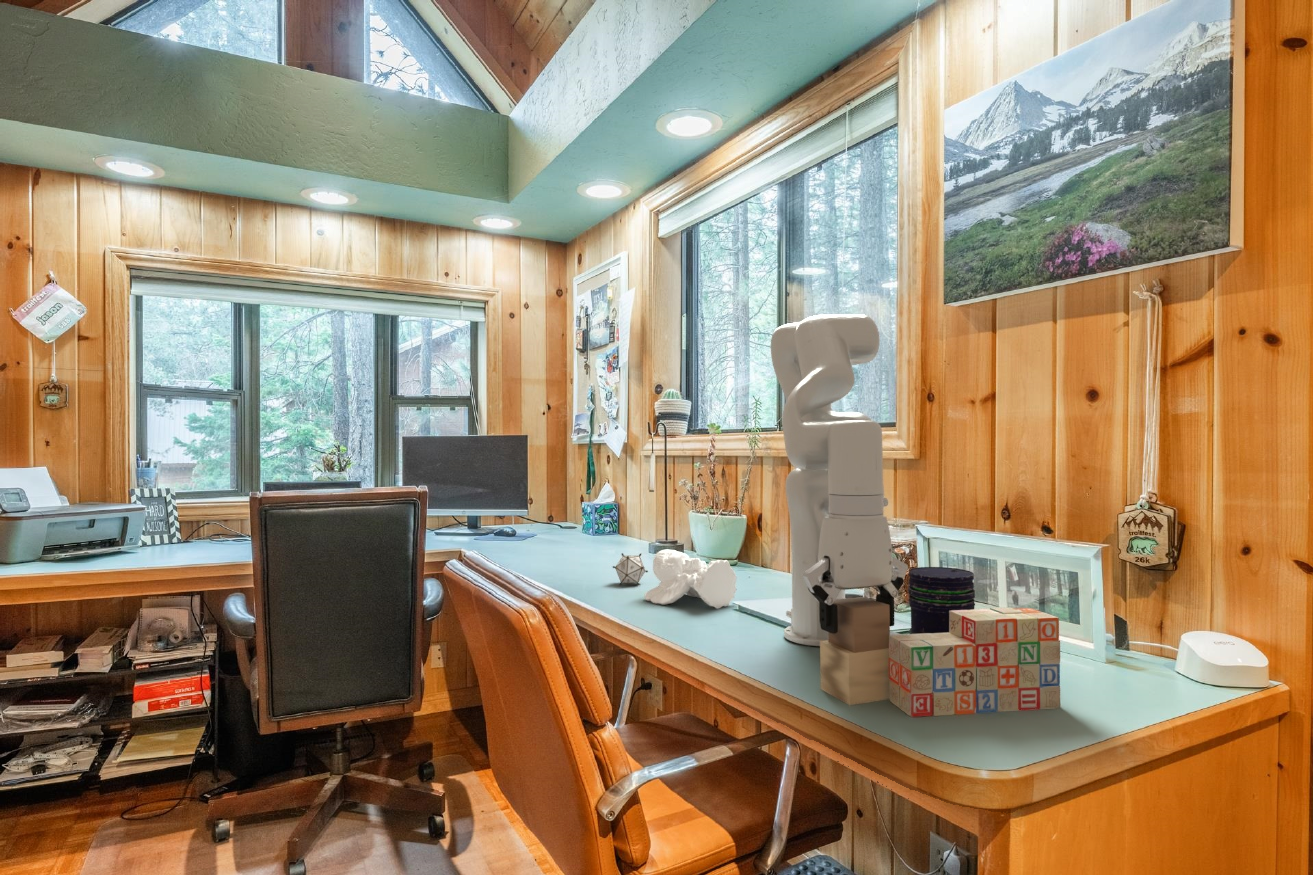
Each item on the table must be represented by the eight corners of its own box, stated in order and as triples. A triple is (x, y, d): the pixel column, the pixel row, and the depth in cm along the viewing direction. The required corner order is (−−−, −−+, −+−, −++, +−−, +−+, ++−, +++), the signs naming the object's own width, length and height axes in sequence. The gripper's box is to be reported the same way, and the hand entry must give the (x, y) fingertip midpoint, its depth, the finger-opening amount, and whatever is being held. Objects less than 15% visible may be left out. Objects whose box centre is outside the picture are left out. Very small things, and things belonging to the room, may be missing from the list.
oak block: (820, 689, 103) (820, 641, 103) (861, 683, 106) (860, 636, 106) (849, 705, 97) (848, 653, 97) (892, 698, 99) (891, 648, 99)
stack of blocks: (910, 719, 92) (909, 623, 92) (888, 702, 98) (886, 612, 98) (1062, 708, 95) (1060, 615, 95) (1031, 692, 101) (1029, 605, 101)
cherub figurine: (695, 565, 150) (636, 546, 165) (693, 623, 151) (635, 598, 166) (739, 557, 158) (679, 539, 173) (736, 612, 159) (677, 589, 174)
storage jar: (943, 679, 107) (942, 579, 107) (895, 662, 116) (894, 569, 116) (990, 670, 111) (989, 573, 111) (941, 654, 120) (939, 564, 120)
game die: (636, 597, 185) (658, 565, 187) (629, 592, 177) (652, 558, 180) (609, 579, 188) (631, 547, 190) (601, 572, 181) (624, 540, 183)
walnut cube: (828, 641, 103) (827, 600, 103) (862, 637, 105) (862, 596, 105) (854, 652, 97) (853, 608, 97) (890, 648, 100) (889, 604, 100)
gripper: (887, 502, 108) (888, 615, 108) (789, 507, 102) (790, 627, 102) (922, 506, 101) (924, 627, 101) (819, 511, 95) (821, 641, 95)
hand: (857, 627), depth 101 cm, fingers open, 9 cm apart
